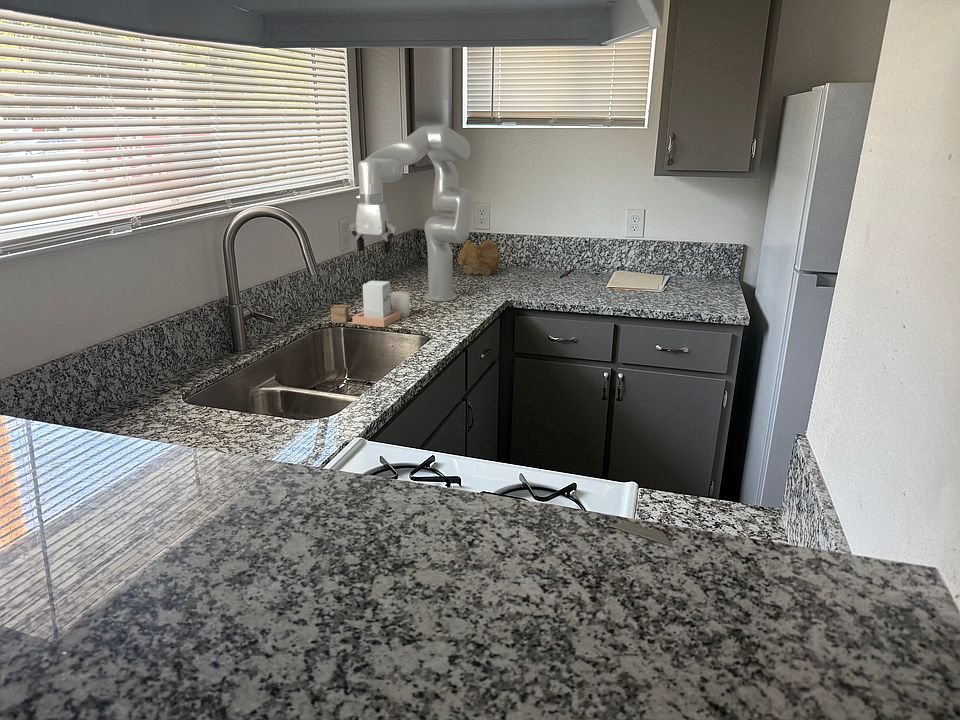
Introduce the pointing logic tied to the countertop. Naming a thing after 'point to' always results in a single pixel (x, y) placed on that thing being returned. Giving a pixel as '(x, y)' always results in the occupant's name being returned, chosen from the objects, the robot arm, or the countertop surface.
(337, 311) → the walnut block
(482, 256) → the rough brown rock
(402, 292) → the white rounded lump
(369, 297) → the supplement box
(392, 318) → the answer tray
